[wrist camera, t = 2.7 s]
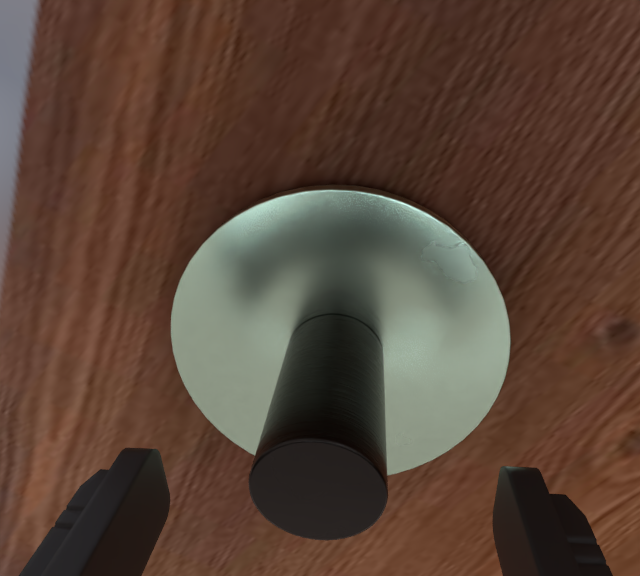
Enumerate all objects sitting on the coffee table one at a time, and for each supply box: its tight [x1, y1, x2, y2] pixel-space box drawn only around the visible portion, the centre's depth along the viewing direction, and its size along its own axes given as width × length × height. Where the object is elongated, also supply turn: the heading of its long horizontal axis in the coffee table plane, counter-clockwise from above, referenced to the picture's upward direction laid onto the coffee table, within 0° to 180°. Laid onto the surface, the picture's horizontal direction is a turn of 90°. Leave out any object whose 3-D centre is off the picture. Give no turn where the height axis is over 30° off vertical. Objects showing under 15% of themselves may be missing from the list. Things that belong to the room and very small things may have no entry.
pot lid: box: [171, 184, 511, 540], centre depth 14 cm, size 11×11×7 cm
